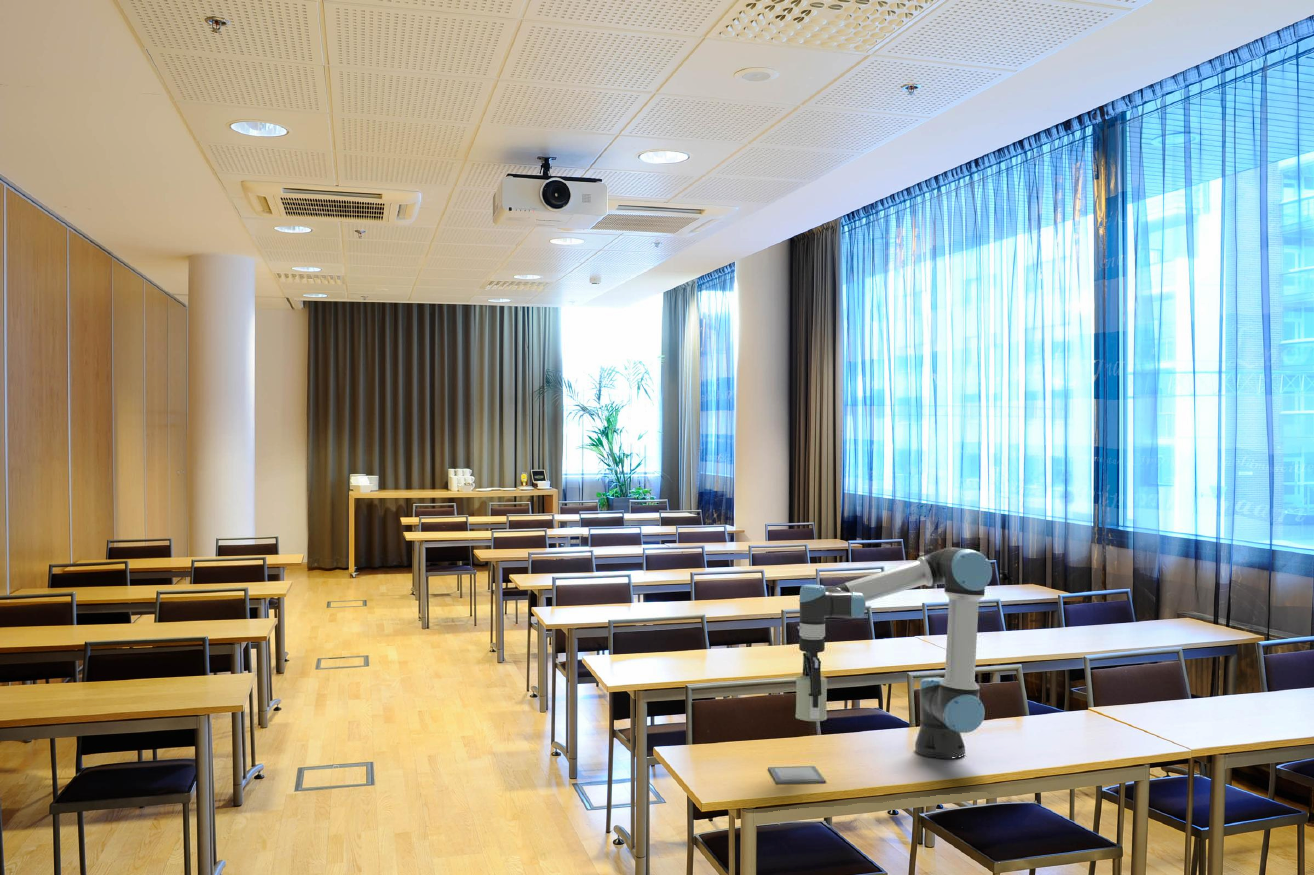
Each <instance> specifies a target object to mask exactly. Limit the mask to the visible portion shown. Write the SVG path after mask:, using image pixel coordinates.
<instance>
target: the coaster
mask: <svg viewBox="0 0 1314 875" xmlns="http://www.w3.org/2000/svg"><path fill="white" fill-rule="evenodd" d="M767 769H768V771H769V773H770V775H771V777H772V778H773V780H774V781H775V783H776V785H793V784H794V785H795V784H796V785H797V784H798V785H800V784H826V783H827V780H826V779H825V778H824V776H823V775H822V773H821V772H820V771H819V770H818V769H817V767H816V766H815V765H806V766H805V765H804V766H803V765H802V766H801V765H799V766H798V765H797V766H768V767H767Z"/></svg>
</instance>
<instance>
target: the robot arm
mask: <svg viewBox="0 0 1314 875" xmlns="http://www.w3.org/2000/svg"><path fill="white" fill-rule="evenodd" d="M992 578H993V568H992V565H991V563H990V561H989V559H988V558H987V556H985V555H984V554H983V553H981V552H979V551H976V550H974V549H969V548H960V547H944V548H943V549H940V550H936V551H934V552H933V551H932V552H931V553H929V554H925V555H922V556H919V557H917V559H916V561H914V562H913V561H912V562H909V563H907V564H903V565H900V566H897V567H894V568H890V569H887V570H883V571H880V572H877V573H873V574H870V575H868V576H864V577H861V578H856V579H854V580H850V581H846V582H844V583H841V584H837V585H834V586H832V585H828V586H827V585H826V586H824V585H823V584H821V585H820V584H804V585H802V586H801V587H800V590H799V599H798V602H799V625H798V626H797V629H798V630H799V634H798V635H799V636H800V637H799V638H798V649H799V651H801V652H803V654H802V659H803V660H802V673H801V674H802V675H805V676H810V681H811V682H810V689H811V694H808V695H809V696H810V719H819V709H820V695H821V694H822V692H821V677H822V674H821V673H822V672H821V669H822V668H821V666H822V665H821V664H822V662H821V661H822V660H820V657H819V653H823V652H824V651H825V648H826V647H825V643H826V642H825V638H824V637H826V618H849V619H854V618H862V617H863V616H864V615H865V613H866V603H868V602H870V601H874V600H877V599H881V598H884V597H887V596H890V595H895V594H897V593H898V594H899V593H901V592H904V591H907V590H911V589H914V588H917V587H920V586H924V585H925V586H927V587H932V586H936V585H942V584H943V585H944V594H946V596H947V597H948V611H947V614H948V615H947V628H946V629H947V631H946V633H947V634H946V650H945V651H946V652H945V668H944V669H945V670H944V677H928V678H922V679H921V680H920V682H919V711H920V712H919V714H920V715H919V716H920V717H919V718H920V727H919V730H918V732H917V736H916V739H915V742H914V743H915V744H914V749H915V752H916V754H918V753H919V755H921V754H922V755H921V756H923V755H925V756H924V757H927V756H929V758H932V757H937V758H936V759H940V758H952V757H959V756H962V755H964V754H965V755H966V746H965V743H964V740H963V737H962V734H968V733H969V734H970V733H971V732H975V731H976V730H977V729H978V728H979V727H980V726H981V725H982V723H983V721H984V719H985V713H986V711H985V707H984V704H983V703H982V701H981V699H980V685H978V683H977V682H976V681H975V680H976V679H975V678H976V677H975V676H976V663H977V662H976V660H977V658H976V656H977V643H978V642H977V639H978V624H979V623H978V621H979V606H980V605H979V603H980V601H981V599H982V598H984V597H985V593H986V592H985V590H986V587H987V586H988V585H989V584H990V582H991V580H992ZM802 675H801V676H802ZM815 690H817V691H815ZM965 755H964V756H965Z"/></svg>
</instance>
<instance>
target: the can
mask: <svg viewBox="0 0 1314 875" xmlns="http://www.w3.org/2000/svg"><path fill="white" fill-rule="evenodd" d="M795 682H796V683H795V684H796V685H795V686H796V688H795V689H796V691H795V692H796V693H795V695H796V696H795V697H796V699H795V700H796V701H795V704H796V705H795V716H794V717H795V719H798V720H801V721H807V722H822V721H826V720H827V719H828V716H827V692H828V691H827V690H828V689H827V688H828V685H827V684H828V678H827V677H824V676H821V692H822V694H821V695H820V709H819V719H810V696H809V695H808V694H811V689H810V682H811V681H810V676H805V675H798V676H796V677H795ZM815 691H817V690H815Z"/></svg>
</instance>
